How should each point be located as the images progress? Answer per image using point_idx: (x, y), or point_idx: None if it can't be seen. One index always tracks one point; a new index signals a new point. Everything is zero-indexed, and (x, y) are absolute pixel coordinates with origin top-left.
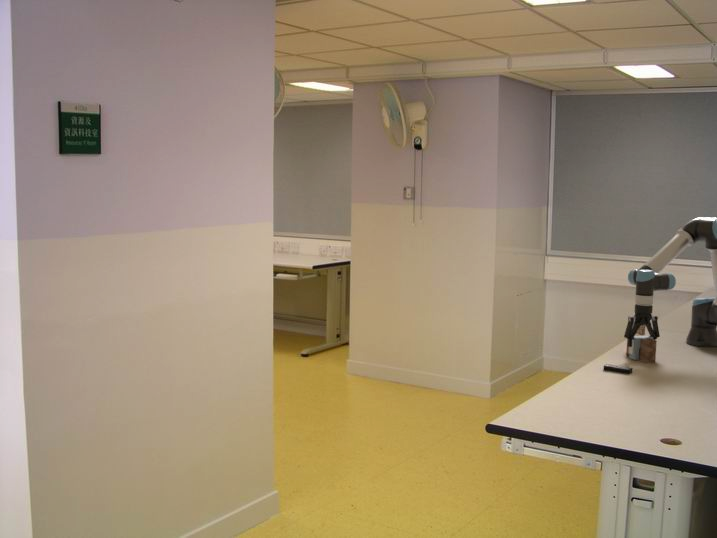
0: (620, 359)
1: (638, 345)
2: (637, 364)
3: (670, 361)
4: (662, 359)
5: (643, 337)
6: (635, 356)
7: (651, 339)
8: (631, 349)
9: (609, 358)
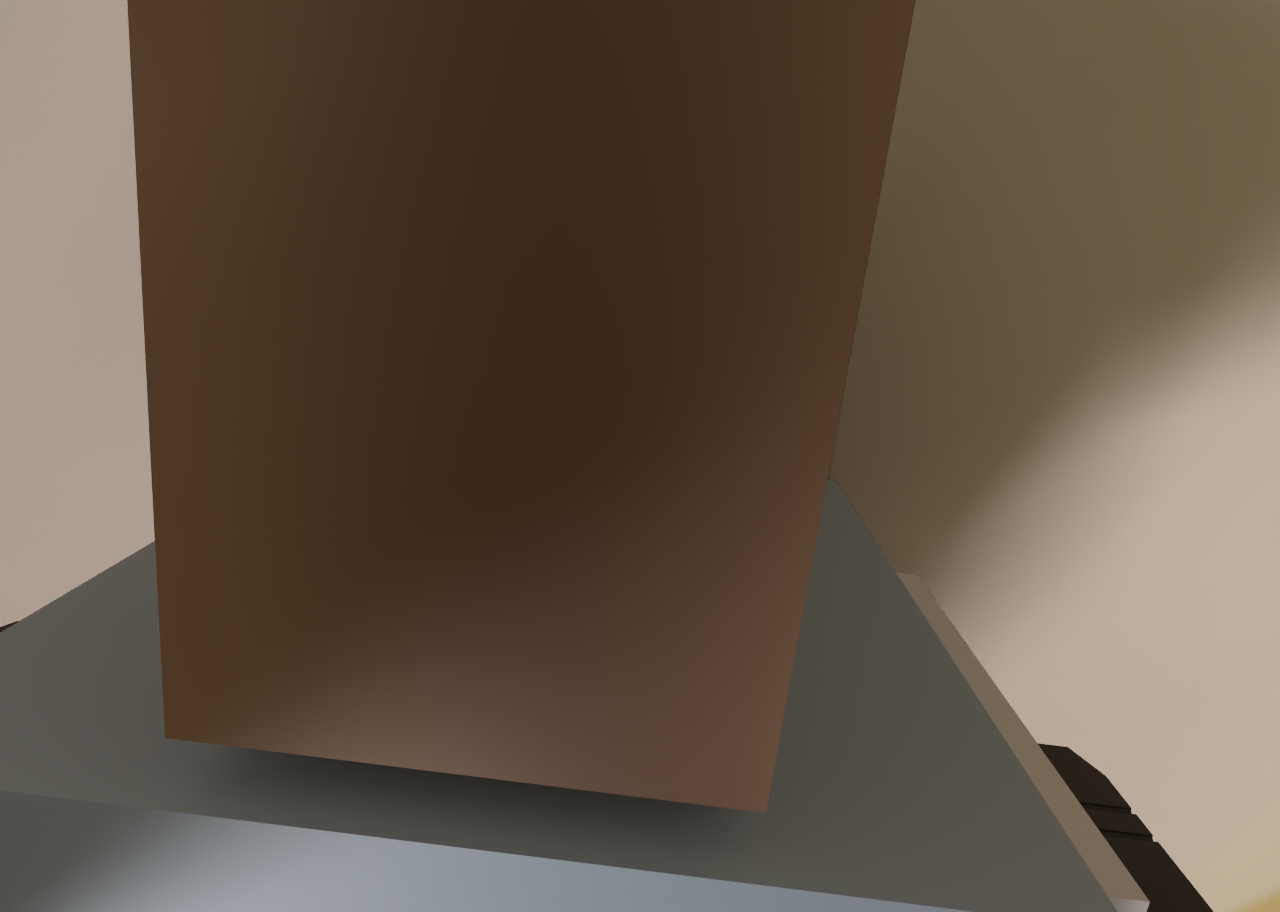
0: (1089, 641)
1: (810, 642)
2: (1122, 77)
3: (27, 83)
4: (110, 331)
5: (489, 905)
6: (834, 505)
7: (303, 277)
8: None
9: (1245, 785)
